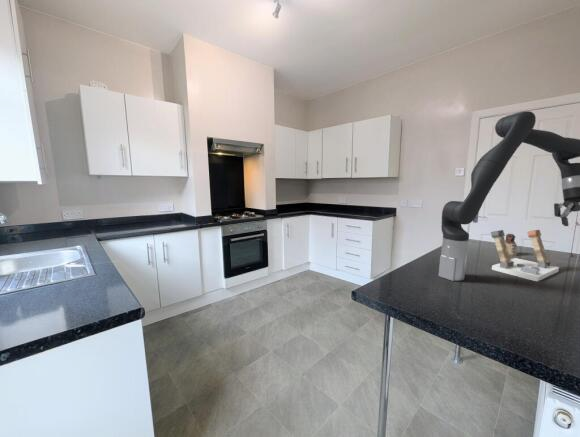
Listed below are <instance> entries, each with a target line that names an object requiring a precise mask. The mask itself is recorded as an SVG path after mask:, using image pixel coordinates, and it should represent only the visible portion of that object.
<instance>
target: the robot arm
mask: <svg viewBox="0 0 580 437" xmlns="http://www.w3.org/2000/svg"><path fill="white" fill-rule="evenodd" d="M536 120H537V119H536V114H535V113H533V112H532V111H529V110H528V111H519V112H516V113H512V114H509V115H506V116H503V117H501V118H499V119H498V120H497V121H496V123H495V127H494V128H495V129H494V131H495V134H497V136H498V137H500V138H502V139H501V140H500V141H499V142H498V143H497V144H496V145H495V146H493V147H492V148H491V149H489V150H488V151H487V152H485V153H484V154H483V155H482V156H481V157H480V158H479V160H478V161H477V163H476V164H475V166H474V167H473V169H472V171H471V174H470V183H471V184H470V185H471V187H470V190H469V193H468V194H467V196H466V197H465V199H464V200H463V201H460V200H459V201H458V200H450V201H448V202H447V203H445V204H444V205H443V208H442V211H441V212H442V213H441V233H442V243H441V253H440V257H439V268H438V277H440V278H443V279H446V280H449V281H452V282H453V281H456V282H457V281H464V280H465V274H466V266H467V258H468V257H467V256H468V250H469V249H468V247H469V241H470V240H469V238H470V234H469V233H468V232H467V231H466V230H465V229H464V228H463V226H462V225H469V224H471V223H472V222H474V220H475V219H476V218H477V216H478V214H479V212H480V211H481V208H482V206H483V204H484V202H485V200H486V198H487V196H488V194H489V193H490V191H491V189H492V187H493V186H494V184H495V183H496V182H497V180H498V179H499V178H500V176H501V174H502V173H503V171H504V170H505V168H506V166H507V165H508V163H509V162H510V160H511V158H512V157H513V156H514V154H515V152H517V150H518V149H519V147H520V146H521V145H522V144H523V143H524V144H527V145H530V146H533V147H536V148H538V149H540V150H542V151H545V152H547V153H550V154H551V156H552V158H553V161H554V162H555V163H556V165H557V167H558V168H559V172H560V177H561V189H562V197H563V202H562V203H561V202H559V203H553V208H554V210H553V212H554V217H557V218H560V219H561V224H562V225H563V226H564V227H569V226H570V225H569V218H568V216H569V215H570V214H571V213H572V212H573V213H574V212H580V162H573V163H572V162H570V160H573V159H576V158H580V139H579V138H573V137H564V136H562V135H560V134H557V133H555V132H553V131H548V130H543V129H535V128H534V127H535V124H536ZM563 207H565V209H564V210H563V211H562V212H561V209H562V208H563Z"/></svg>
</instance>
